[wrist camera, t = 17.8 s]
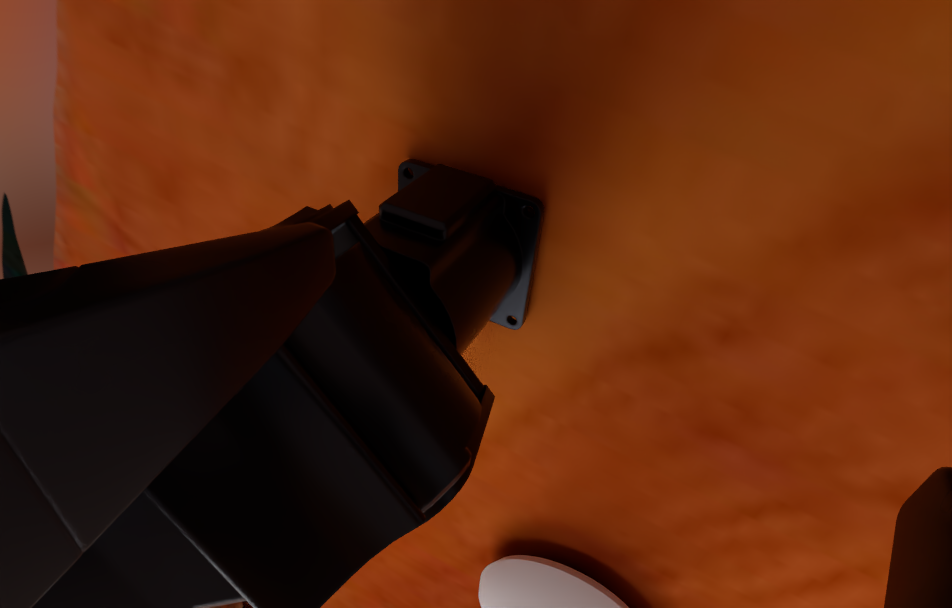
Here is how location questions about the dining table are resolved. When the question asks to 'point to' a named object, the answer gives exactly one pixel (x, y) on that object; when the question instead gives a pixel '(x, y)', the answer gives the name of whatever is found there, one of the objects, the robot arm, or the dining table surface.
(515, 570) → the flower in vase
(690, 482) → the dining table surface
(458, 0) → the dining table surface
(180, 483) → the robot arm
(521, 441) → the dining table surface
